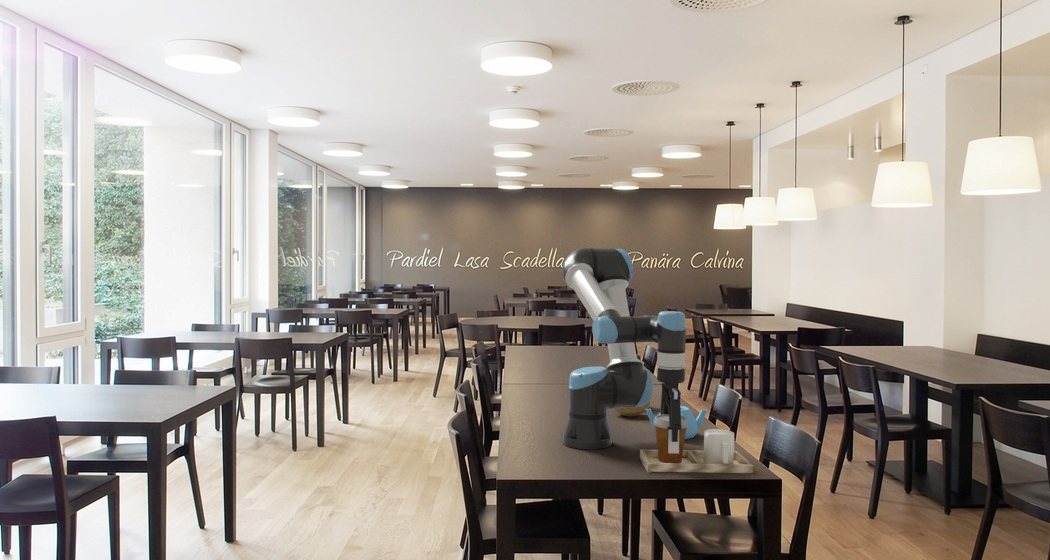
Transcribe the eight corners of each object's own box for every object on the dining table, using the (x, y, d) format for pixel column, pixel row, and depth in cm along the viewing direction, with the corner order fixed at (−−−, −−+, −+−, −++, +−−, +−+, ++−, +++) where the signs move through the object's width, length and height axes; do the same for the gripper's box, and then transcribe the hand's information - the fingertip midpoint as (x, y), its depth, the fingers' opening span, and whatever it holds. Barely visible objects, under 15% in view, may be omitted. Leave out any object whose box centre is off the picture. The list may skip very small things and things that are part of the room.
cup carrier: (647, 473, 179) (647, 464, 179) (639, 458, 193) (639, 449, 193) (753, 474, 178) (753, 465, 178) (737, 459, 192) (737, 450, 192)
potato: (652, 419, 242) (652, 397, 242) (614, 418, 242) (614, 396, 242) (646, 413, 252) (647, 391, 252) (609, 412, 252) (610, 391, 252)
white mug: (710, 472, 179) (711, 438, 178) (700, 460, 189) (701, 428, 189) (740, 472, 178) (741, 439, 178) (729, 460, 189) (729, 429, 189)
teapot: (642, 434, 221) (642, 401, 220) (669, 427, 231) (670, 396, 230) (681, 443, 209) (681, 409, 209) (708, 435, 219) (708, 403, 219)
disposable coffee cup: (682, 455, 191) (683, 413, 190) (691, 465, 181) (692, 421, 181) (649, 455, 190) (649, 413, 190) (657, 465, 181) (657, 421, 180)
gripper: (694, 374, 174) (692, 459, 174) (676, 361, 196) (675, 437, 197) (665, 373, 174) (663, 459, 175) (650, 361, 196) (649, 437, 197)
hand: (669, 447), depth 186 cm, fingers closed on disposable coffee cup, 9 cm apart
